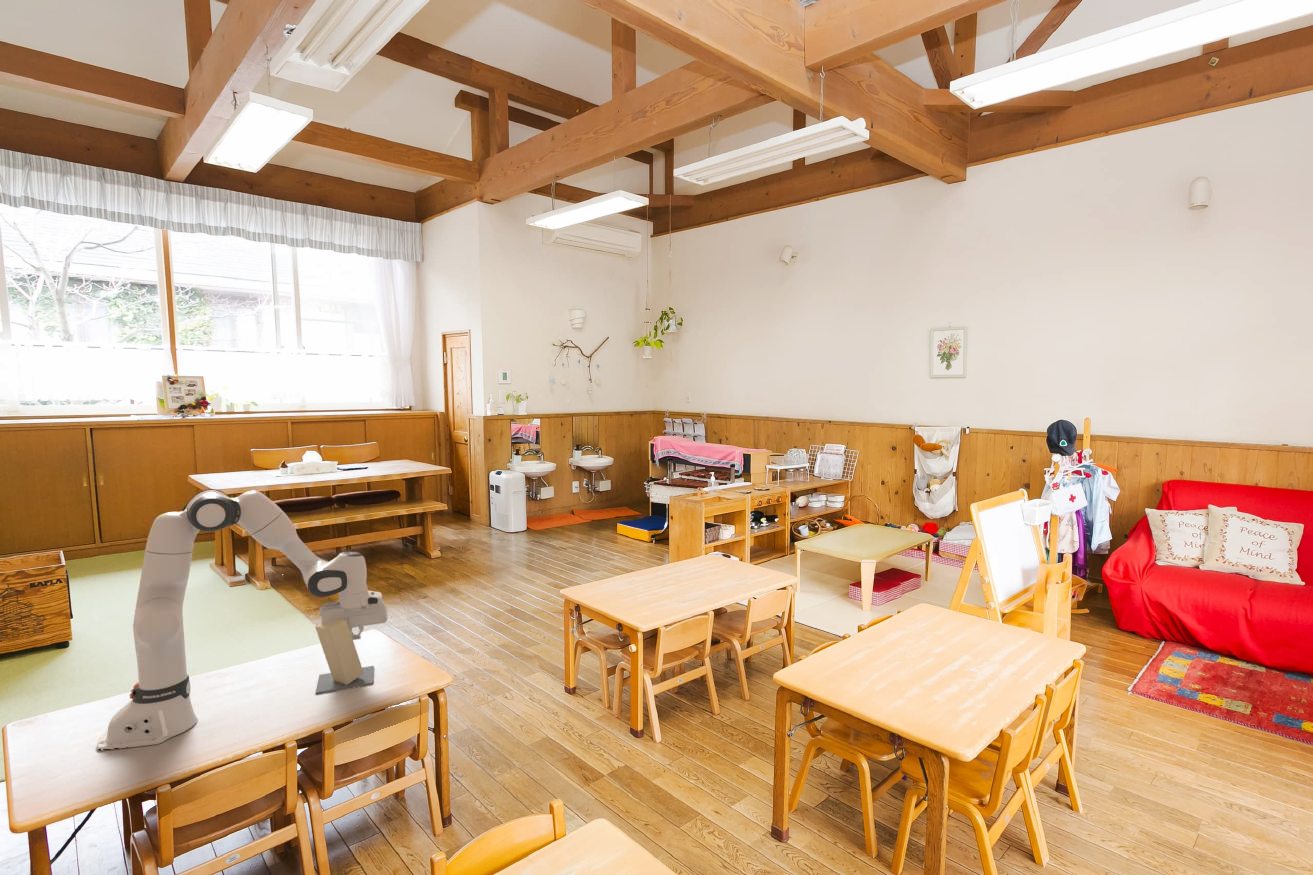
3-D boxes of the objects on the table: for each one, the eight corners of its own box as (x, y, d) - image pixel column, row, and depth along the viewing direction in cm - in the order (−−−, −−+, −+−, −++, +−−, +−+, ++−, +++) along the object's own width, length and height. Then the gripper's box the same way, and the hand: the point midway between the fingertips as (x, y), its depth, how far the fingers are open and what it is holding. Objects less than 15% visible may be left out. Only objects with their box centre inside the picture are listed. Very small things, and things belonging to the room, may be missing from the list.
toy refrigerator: (366, 671, 215) (348, 618, 209) (347, 685, 209) (327, 630, 203) (352, 667, 219) (334, 614, 213) (333, 680, 213) (313, 626, 208)
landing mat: (315, 694, 205) (315, 692, 205) (319, 676, 218) (319, 674, 218) (372, 684, 212) (372, 682, 211) (373, 667, 224) (373, 665, 224)
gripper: (318, 606, 206) (320, 648, 207) (386, 597, 214) (388, 637, 215) (319, 600, 212) (322, 640, 213) (386, 592, 220) (388, 630, 221)
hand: (356, 639), depth 214 cm, fingers closed
